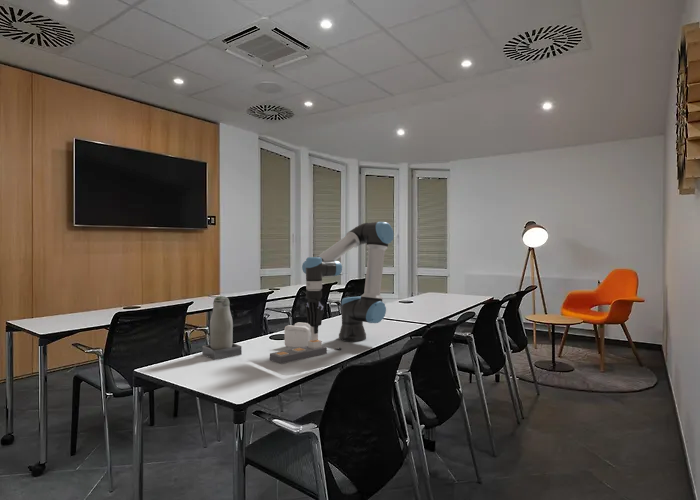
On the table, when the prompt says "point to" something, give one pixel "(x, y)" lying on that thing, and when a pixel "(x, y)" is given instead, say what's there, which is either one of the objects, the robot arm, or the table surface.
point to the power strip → (298, 354)
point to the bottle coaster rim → (221, 352)
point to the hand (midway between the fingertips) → (314, 340)
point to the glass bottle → (221, 324)
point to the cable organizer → (297, 335)
